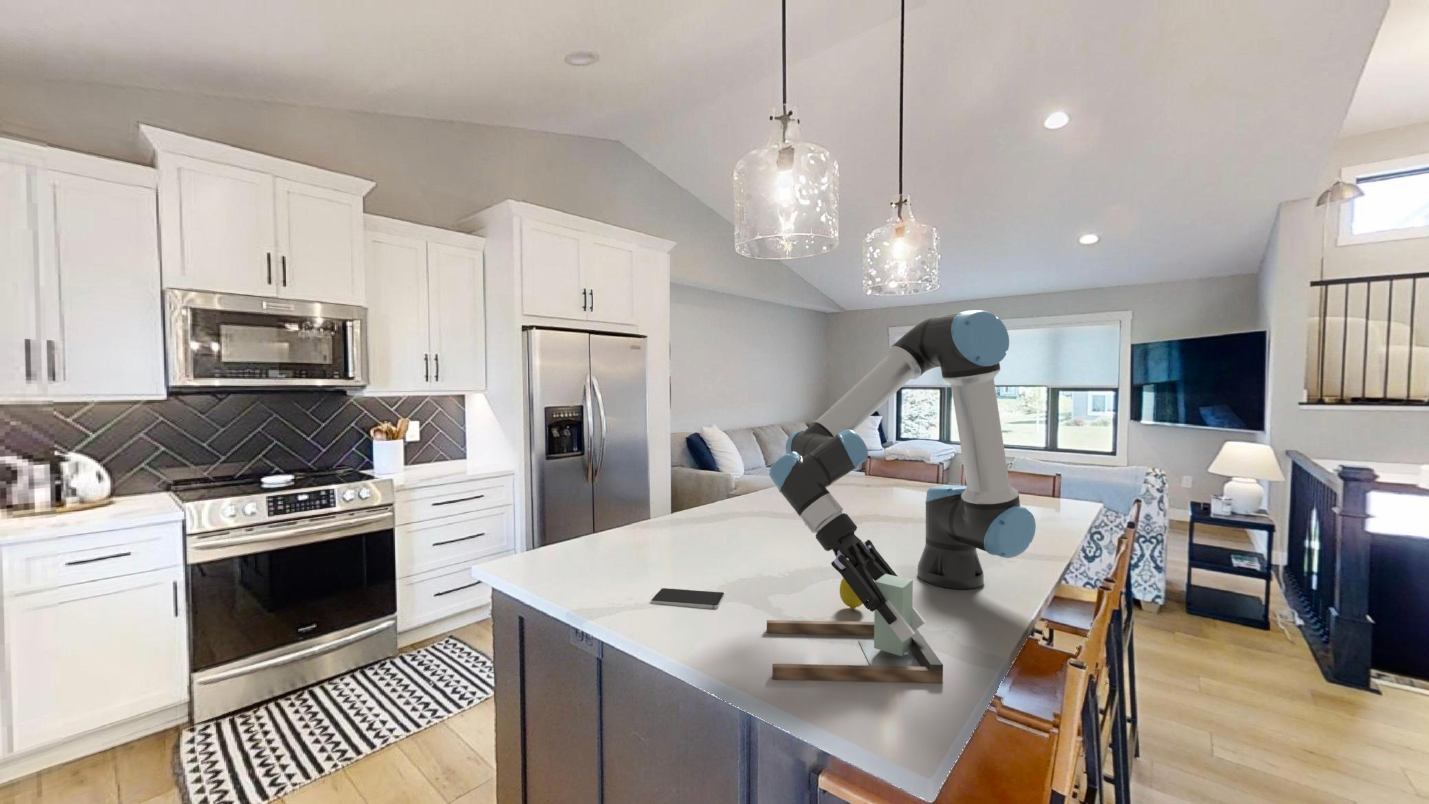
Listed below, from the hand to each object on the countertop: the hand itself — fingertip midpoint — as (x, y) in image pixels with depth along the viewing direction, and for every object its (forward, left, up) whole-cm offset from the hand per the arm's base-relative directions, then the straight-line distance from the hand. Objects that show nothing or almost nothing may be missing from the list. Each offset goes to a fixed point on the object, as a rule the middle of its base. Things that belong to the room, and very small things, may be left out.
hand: (914, 631), depth 99 cm
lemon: (+6, -22, -5) cm, 24 cm away
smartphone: (+42, -26, -6) cm, 50 cm away
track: (+11, -2, -5) cm, 13 cm away
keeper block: (+3, -2, -4) cm, 5 cm away
